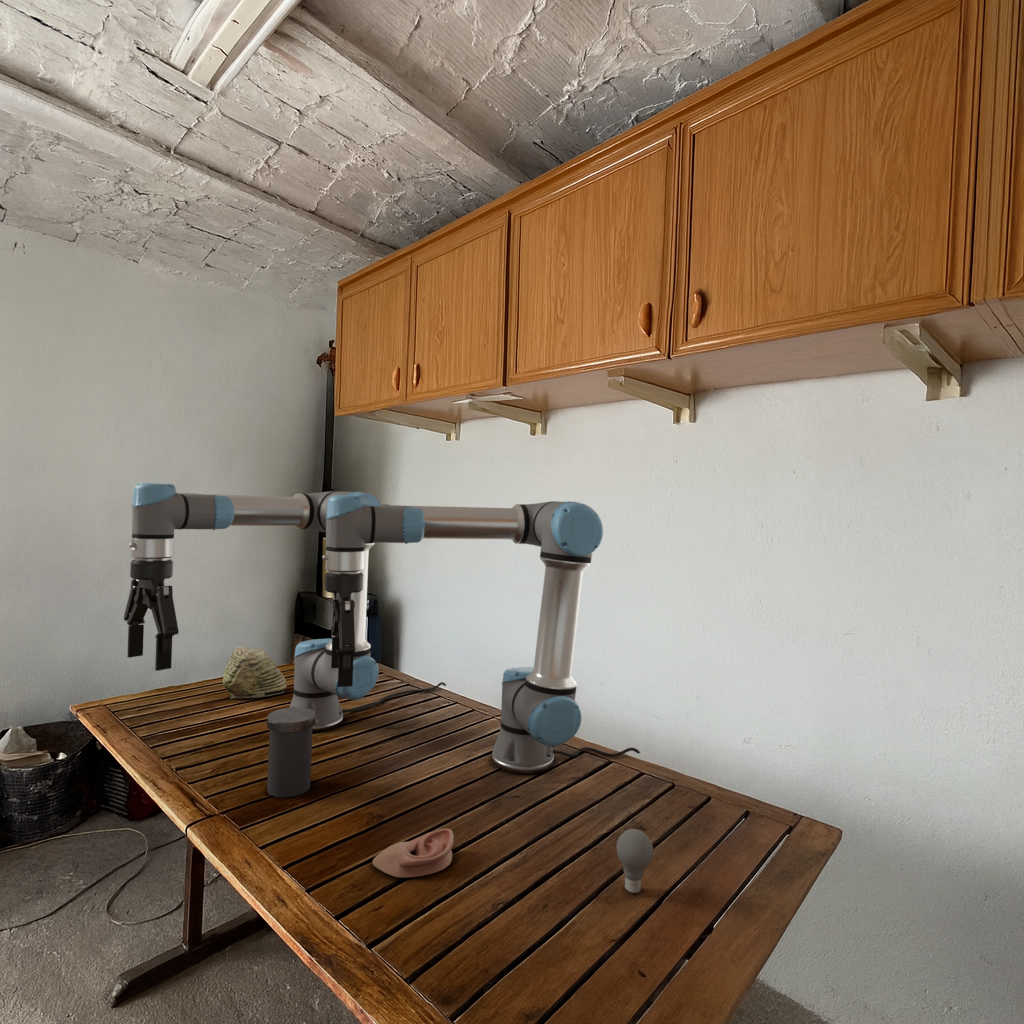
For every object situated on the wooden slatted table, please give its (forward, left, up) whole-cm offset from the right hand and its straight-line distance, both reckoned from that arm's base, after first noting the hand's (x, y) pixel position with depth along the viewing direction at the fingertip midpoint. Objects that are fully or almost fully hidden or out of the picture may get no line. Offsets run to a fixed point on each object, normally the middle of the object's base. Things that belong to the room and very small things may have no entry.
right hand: (341, 676), depth 128 cm
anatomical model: (-11, +22, -27) cm, 37 cm away
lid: (+9, -13, -12) cm, 19 cm away
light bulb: (-44, +41, -27) cm, 66 cm away
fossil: (+17, -81, -27) cm, 87 cm away
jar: (+9, -13, -27) cm, 31 cm away
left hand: (+37, -15, +1) cm, 40 cm away
